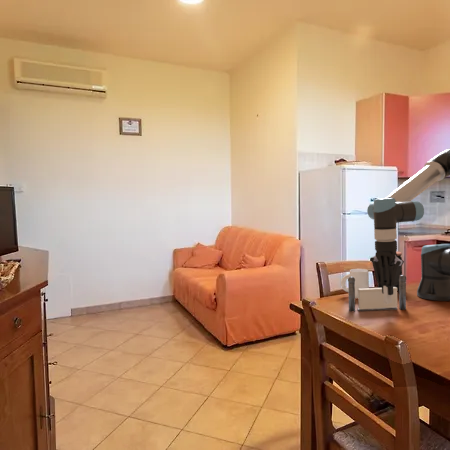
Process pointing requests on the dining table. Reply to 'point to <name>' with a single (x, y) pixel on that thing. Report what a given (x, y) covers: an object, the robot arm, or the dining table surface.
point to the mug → (357, 280)
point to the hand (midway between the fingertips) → (388, 302)
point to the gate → (375, 298)
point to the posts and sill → (401, 306)
